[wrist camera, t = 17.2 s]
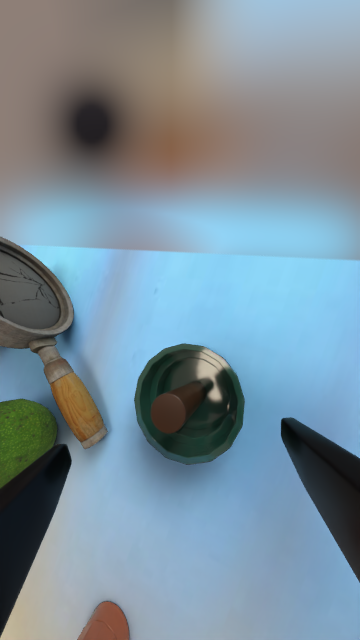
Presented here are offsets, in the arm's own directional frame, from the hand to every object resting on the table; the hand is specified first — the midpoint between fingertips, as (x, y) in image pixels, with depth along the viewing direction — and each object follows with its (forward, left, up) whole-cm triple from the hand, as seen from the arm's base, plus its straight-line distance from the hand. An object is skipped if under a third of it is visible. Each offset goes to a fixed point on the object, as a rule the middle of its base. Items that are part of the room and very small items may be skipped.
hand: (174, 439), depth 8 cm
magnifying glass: (+15, +11, -13) cm, 23 cm away
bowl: (+1, +1, -13) cm, 13 cm away
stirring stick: (+1, +1, -12) cm, 12 cm away
